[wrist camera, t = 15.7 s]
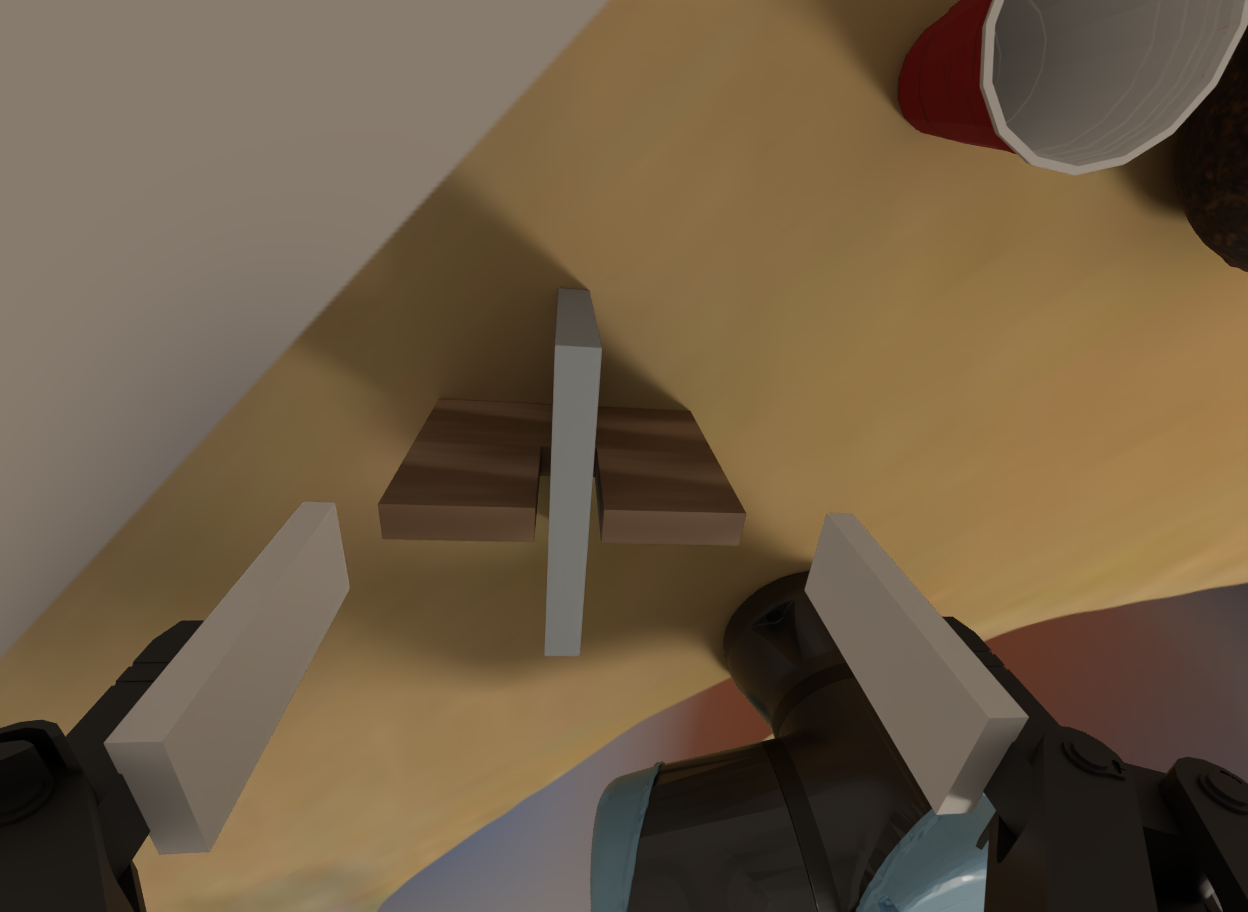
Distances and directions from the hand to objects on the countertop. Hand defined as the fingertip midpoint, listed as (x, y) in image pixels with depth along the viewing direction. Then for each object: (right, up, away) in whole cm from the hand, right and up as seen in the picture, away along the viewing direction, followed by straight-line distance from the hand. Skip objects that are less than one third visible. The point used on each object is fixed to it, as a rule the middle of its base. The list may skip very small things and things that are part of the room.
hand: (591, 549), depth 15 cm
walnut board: (-3, +5, +25) cm, 26 cm away
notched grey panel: (-3, +5, +25) cm, 26 cm away
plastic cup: (+20, +25, +18) cm, 36 cm away
